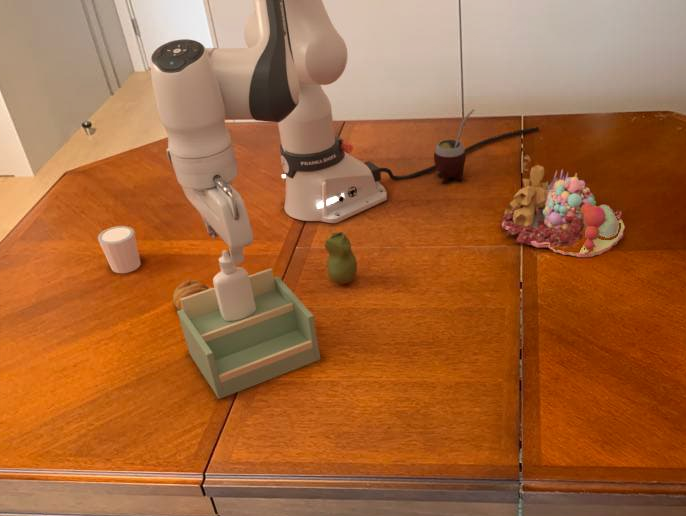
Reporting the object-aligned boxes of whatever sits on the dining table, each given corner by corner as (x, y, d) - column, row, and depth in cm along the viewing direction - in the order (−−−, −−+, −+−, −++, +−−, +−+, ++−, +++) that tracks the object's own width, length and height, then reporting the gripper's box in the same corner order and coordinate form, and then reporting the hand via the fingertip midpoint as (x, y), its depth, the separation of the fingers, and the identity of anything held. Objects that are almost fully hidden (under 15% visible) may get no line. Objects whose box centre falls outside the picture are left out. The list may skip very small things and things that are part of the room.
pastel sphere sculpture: (486, 242, 161) (487, 200, 155) (521, 190, 177) (523, 149, 171) (611, 264, 153) (616, 220, 147) (635, 207, 169) (641, 165, 163)
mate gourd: (429, 181, 182) (426, 115, 172) (446, 167, 187) (445, 103, 177) (457, 188, 179) (456, 122, 169) (475, 174, 184) (475, 108, 174)
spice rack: (286, 319, 144) (276, 266, 137) (320, 359, 135) (312, 305, 128) (189, 354, 137) (173, 300, 130) (218, 399, 128) (203, 344, 121)
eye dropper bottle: (224, 307, 135) (208, 244, 127) (257, 305, 135) (244, 242, 127) (220, 323, 132) (204, 259, 124) (254, 321, 132) (240, 257, 124)
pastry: (223, 315, 146) (219, 297, 143) (187, 327, 143) (182, 310, 141) (206, 291, 152) (201, 273, 149) (171, 302, 149) (166, 285, 147)
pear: (363, 278, 153) (358, 231, 146) (348, 292, 150) (342, 245, 143) (338, 271, 155) (332, 224, 148) (323, 285, 152) (316, 238, 145)
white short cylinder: (134, 276, 157) (123, 244, 152) (101, 273, 158) (90, 242, 153) (149, 257, 162) (140, 226, 157) (118, 255, 163) (108, 224, 158)
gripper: (253, 185, 110) (271, 271, 120) (201, 134, 124) (221, 215, 133) (210, 198, 108) (232, 285, 117) (162, 146, 121) (185, 227, 131)
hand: (226, 248), depth 125 cm, fingers open, 8 cm apart
